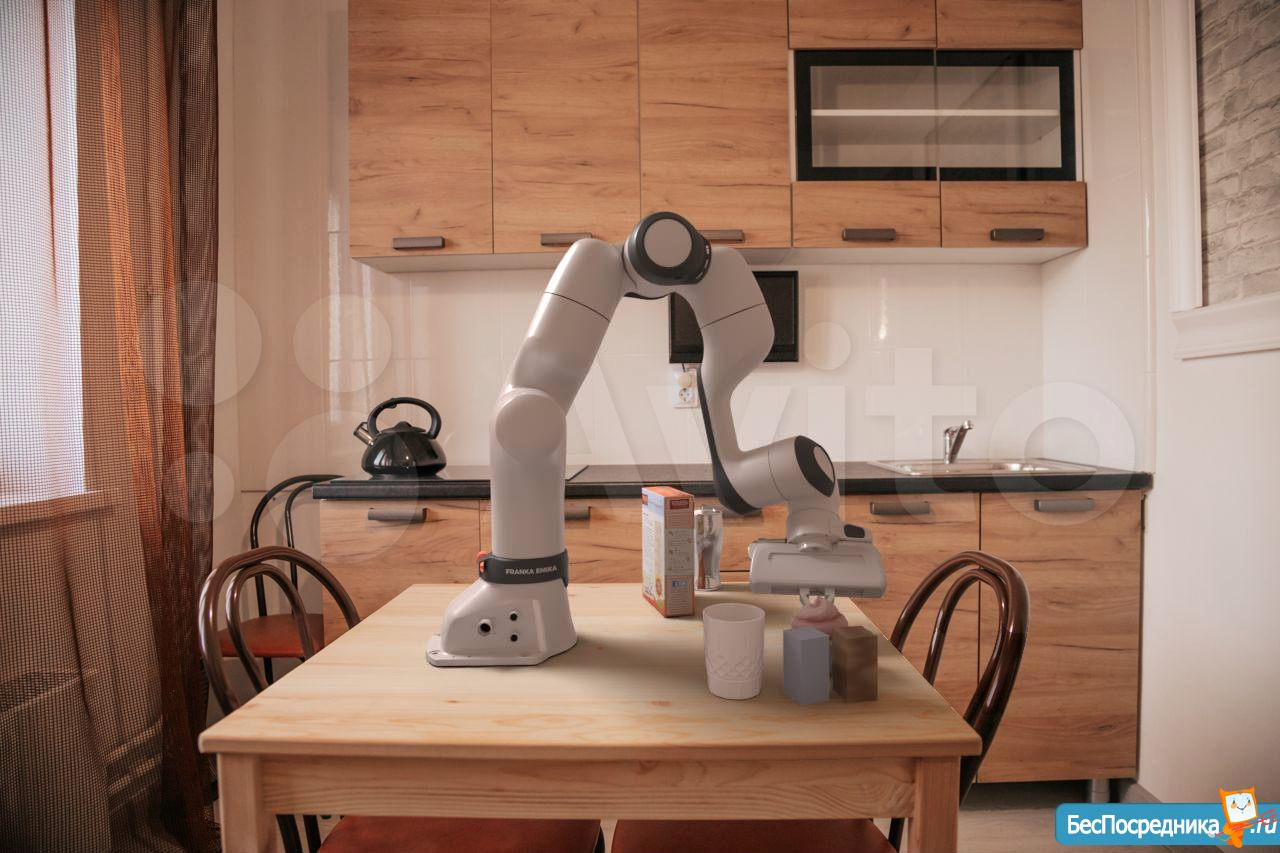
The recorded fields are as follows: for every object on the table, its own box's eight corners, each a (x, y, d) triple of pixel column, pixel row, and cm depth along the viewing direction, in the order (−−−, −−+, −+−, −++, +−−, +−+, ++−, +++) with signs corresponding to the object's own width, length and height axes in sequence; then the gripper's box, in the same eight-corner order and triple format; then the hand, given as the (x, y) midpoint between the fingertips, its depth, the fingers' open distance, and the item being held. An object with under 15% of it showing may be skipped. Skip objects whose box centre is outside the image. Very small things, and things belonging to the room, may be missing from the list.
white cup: (778, 693, 87) (778, 614, 87) (728, 707, 83) (727, 625, 83) (739, 672, 94) (739, 599, 94) (691, 684, 90) (690, 609, 90)
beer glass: (725, 591, 133) (724, 514, 133) (689, 592, 133) (688, 514, 133) (721, 582, 140) (721, 508, 140) (687, 582, 140) (686, 508, 140)
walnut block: (847, 703, 84) (847, 638, 84) (832, 690, 88) (831, 627, 88) (877, 700, 85) (877, 635, 85) (861, 687, 89) (861, 625, 89)
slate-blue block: (801, 705, 84) (801, 640, 84) (783, 692, 88) (783, 630, 87) (829, 700, 85) (829, 635, 85) (810, 687, 89) (809, 625, 89)
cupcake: (775, 658, 99) (774, 589, 99) (835, 652, 101) (835, 584, 101) (803, 684, 90) (803, 608, 90) (869, 677, 92) (869, 603, 91)
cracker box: (697, 615, 119) (696, 494, 118) (663, 618, 118) (662, 496, 117) (672, 593, 133) (670, 484, 132) (641, 596, 131) (640, 486, 130)
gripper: (747, 527, 110) (745, 605, 101) (882, 530, 106) (892, 612, 97) (749, 548, 115) (747, 626, 106) (878, 552, 111) (887, 633, 102)
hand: (818, 619), depth 101 cm, fingers closed
